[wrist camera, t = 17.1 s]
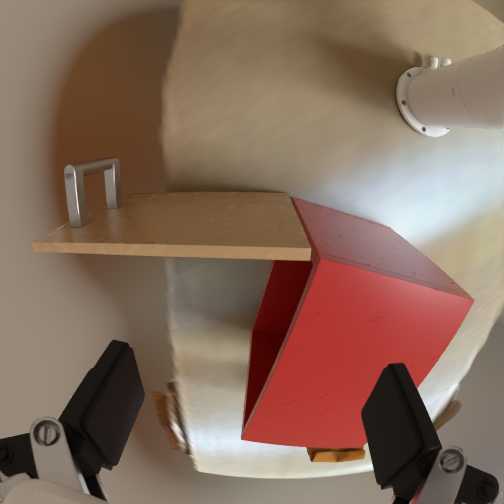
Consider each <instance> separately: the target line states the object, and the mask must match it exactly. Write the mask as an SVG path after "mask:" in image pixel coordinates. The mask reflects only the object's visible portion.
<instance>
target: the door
mask: <svg viewBox="0 0 504 504" xmlns="http://www.w3.org/2000/svg"><path fill="white" fill-rule="evenodd" d="M102 171H104V174H105V188H106V198H107V205H104V206H102V207H100V208H98V209H96V210H93V211H91V212H89V213H87V209H86V200H85V190H84V179H83V176H86V175H90V174H94V173H98V172H102ZM64 177H65V188H66V196H67V205H68V212H69V219H70V222H69V223H66V224H64V225H63V226H61V227H59V228H57V229H55V230H53V231H51V232H49V233H47V234H45V235H44V236H42V237H40V238H38V239H36V240H35V241H33V242H32V247H33V251H42V252H65V253H88V254H113V255H140V256H168V257H199V258H231V259H266V260H304V261H310V255H311V247H310V245H309V242H308V240H307V237H306V235H305V232H304V230H303V227H302V225H301V223H300V220H299V218H298V215H297V213H296V211H295V208H294V206H293V204H292V201H291V199H290V197H289V194H288V193H273V192H174V193H147V194H129V195H127V196H125V197H122V196H121V183H120V166H119V160H118V158H116V157H111V158H104V159H99V160H92V161H86V162H81V163H75V164H70V165H67V166H66V167H65V170H64Z"/></svg>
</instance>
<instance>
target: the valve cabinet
mask: <svg viewBox="0 0 504 504" xmlns="http://www.w3.org/2000/svg"><path fill="white" fill-rule="evenodd" d="M292 204H293V206H294V208H295V211H296V213H297V215H298V218H299V220H300V223H301V225H302V227H303V230H304V232H305V235H306V237H307V240H308V242H309V245H310V247H311V255H310V261H304V260H274V261H273V264H272V267H271V271H270V274H269V277H268V280H267V283H266V287H265V290H264V293H263V296H262V299H261V302H260V306H259V309H258V312H257V315H256V318H255V321H254V324H253V327H252V330H251V340H250V351H249V362H248V372H247V383H246V393H245V403H244V414H243V424H242V434H241V440H246V441H253V442H260V443H267V444H276V445H286V446H298V447H317V448H360V447H363V446H364V445H365V444H366V443H367V438H366V434H365V430H364V426H363V422H362V418H361V411H362V408H363V406H364V405H365V403H366V401H367V399H368V397H369V396H370V394H371V392H372V390H373V388H374V386H375V384H376V382H377V380H378V378H379V376H380V374H381V372H382V370H383V369H384V368H385V367H387V365H388V364H390V363H404V364H405V365H406V367H407V369H408V371H409V373H410V375H411V378H412V380H413V382H414V384H415V386H416V388H418V386H419V385H420V384H421V383H422V381H423V380H424V379H425V377H426V376H427V375H428V373H429V372H430V371H431V369H432V368H433V367H434V365H435V364H436V362H437V361H438V360H439V358H440V357H441V355H442V354H443V352H444V351H445V349H446V348H447V346H448V345H449V343H450V342H451V340H452V339H453V337H454V335H455V334H456V332H457V331H458V329H459V327H460V326H461V324H462V322H463V320H464V319H465V317H466V315H467V313H468V312H469V310H470V308H471V306H472V304H473V302H474V299H473V298H472V297H471V296H470V295H468V293H467V292H466V291H464V290H463V289H462V288H461V287H460V286H459V285H458V284H457V283H456V282H455V281H454V280H453V279H451V278H450V277H449V276H448V275H447V274H446V273H445V272H444V271H442V270H441V269H440V268H439V267H438V266H437V265H436V264H434V263H433V262H432V261H431V260H430V259H428V258H427V257H426V256H425V255H424V254H422V253H421V252H420V251H419V250H418V249H416V248H415V247H414V246H413V245H411V244H410V243H409V242H408V241H406V240H405V239H404V238H403V237H401V236H400V235H399V234H397V233H396V232H395V231H394V230H392V229H391V228H389V227H386V226H383V225H380V224H377V223H374V222H371V221H368V220H365V219H362V218H359V217H356V216H353V215H350V214H347V213H344V212H340V211H337V210H334V209H331V208H327V207H324V206H321V205H317V204H314V203H311V202H307V201H304V200H300V199H297V198H293V197H292Z"/></svg>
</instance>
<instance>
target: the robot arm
mask: <svg viewBox="0 0 504 504" xmlns="http://www.w3.org/2000/svg"><path fill="white" fill-rule="evenodd" d="M437 65H438V58H436V57H434V56H431V60H430V66H429V67H428V68H424V67H414V68H411V69H409V70H407V71H405V72H404V73H403V74H402V75H401V77H400V78H399V80H398V83H397V88H396V97H397V103H398V106H399V109H400V111H401V113H402V115H403V117H404V118H405V120H406V122H407V123H408V124H409V125H410V126H411V127H412V128H413V129H414V130H416V131H417V132H419V133H420V134H422V135H425V136H430V137H438V136H442V135H444V134H446V133H447V132H448V131H449V130H450V129H451V128H484V129H501V128H504V45H502V46H501V47H498V48H496V49H494V50H492V51H489V52H486V53H484V54H481V55H478V56H475V57H471V58H468V59H465V60H462V61H459V62H456V63H453V64H451V60H449V59H448V58H444V57H443V58H441V68H438V69H437ZM407 75H408V76H407ZM402 103H403V104H402ZM144 396H145V392H144V389H143V386H142V382H141V378H140V375H139V371H138V367H137V364H136V360H135V356H134V352H133V349H132V348H131V347H129V344H128V343H126V342H122V341H117V340H112V341H111V342H110V344H109V345H108V347H107V348H106V350H105V351H104V353H103V354H102V356H101V357H100V359H99V360H98V362H97V363H96V365H95V366H94V368H92V369H90V370H89V371H88V373H87V374H86V376H85V378H84V379H83V381H82V382H81V384H80V385H79V387H78V388H77V390H76V392H75V393H74V395H73V396H72V398H71V399H70V401H69V403H68V404H67V406H66V408H65V409H64V411H63V412H62V414H61V416H60V417H59V419H58V420H57V419H55V418H52V417H41V418H39V419H37V420H36V421H35V422H34V423H33V424H32V426H31V429H30V433H26V434H22V435H17V436H13V437H8V438H3V439H0V504H112V503H111V501H110V499H109V497H108V494H107V492H106V490H105V488H104V486H103V484H102V481H101V479H100V476H99V472H100V470H101V467H103V468H106V469H108V470H112V467H113V466H116V465H117V464H118V462H119V460H120V457H121V455H122V452H123V450H124V447H125V445H126V442H127V440H128V437H129V435H130V432H131V430H132V427H133V425H134V422H135V420H136V417H137V415H138V413H139V410H140V408H141V406H142V403H143V401H144ZM361 418H362V422H363V426H364V430H365V434H366V438H367V442H368V446H369V451H370V455H371V459H372V464H373V468H374V473H375V477H376V482H377V484H379V485H381V489H382V490H383V489H387V488H391V487H393V491H394V494H393V496H392V498H391V499H390V501H389V503H388V504H504V491H503V490H500V491H498V490H499V484H498V481H497V479H496V478H495V477H494V476H493V475H491V474H488V473H486V472H483V471H481V470H479V469H476V468H474V467H472V466H469V465H467V457H466V455H465V453H464V451H463V450H462V449H461V448H459V447H457V446H453V445H450V446H446V447H444V448H442V446H441V443H440V440H439V438H438V436H437V433H436V431H435V428H434V426H433V423H432V421H431V419H430V417H429V414H428V412H427V410H426V407H425V405H424V403H423V401H422V399H421V396H420V394H419V392H418V390H417V388H416V386H415V384H414V382H413V380H412V378H411V375H410V373H409V371H408V369H407V367H406V365H405V364H404V363H390V364H388V365H387V367H385V368H384V369H383V370H382V372H381V374H380V376H379V378H378V380H377V382H376V384H375V386H374V388H373V390H372V392H371V394H370V396H369V397H368V399H367V401H366V403H365V405H364V406H363V408H362V411H361Z"/></svg>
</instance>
